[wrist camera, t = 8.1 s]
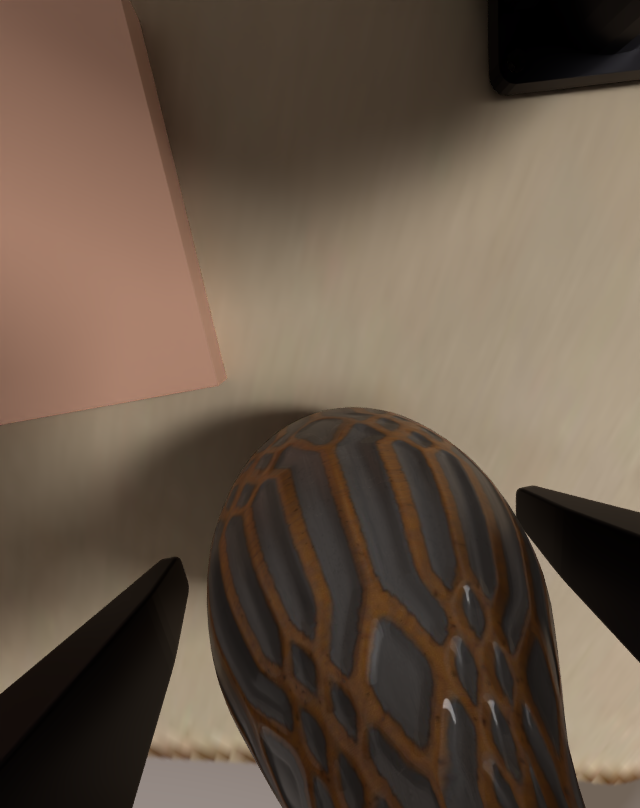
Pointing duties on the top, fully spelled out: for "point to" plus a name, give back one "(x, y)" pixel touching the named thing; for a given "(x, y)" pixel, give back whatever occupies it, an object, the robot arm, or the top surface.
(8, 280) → the tile
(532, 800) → the vase
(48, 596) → the top surface
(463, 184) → the top surface
